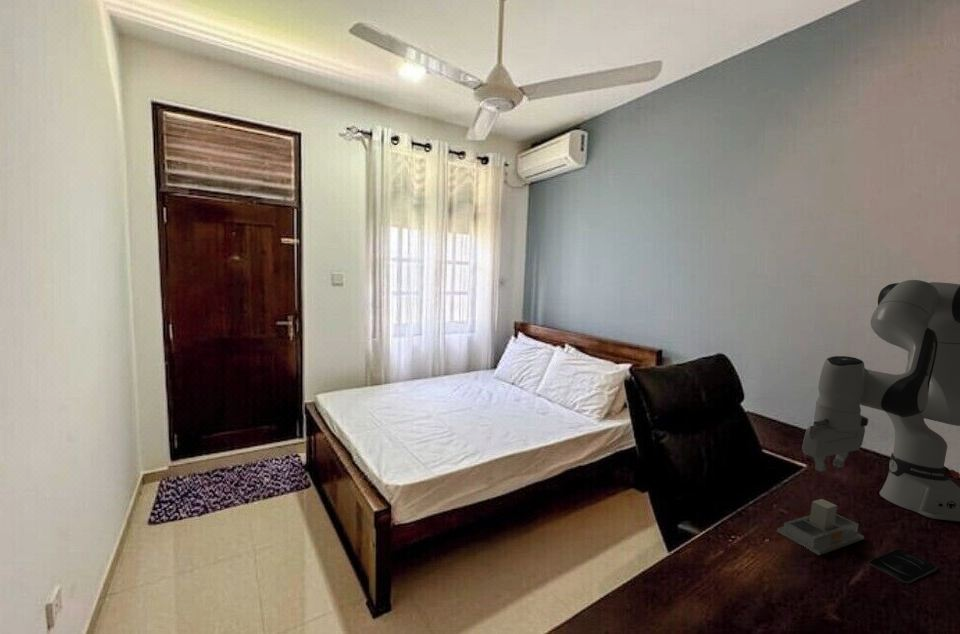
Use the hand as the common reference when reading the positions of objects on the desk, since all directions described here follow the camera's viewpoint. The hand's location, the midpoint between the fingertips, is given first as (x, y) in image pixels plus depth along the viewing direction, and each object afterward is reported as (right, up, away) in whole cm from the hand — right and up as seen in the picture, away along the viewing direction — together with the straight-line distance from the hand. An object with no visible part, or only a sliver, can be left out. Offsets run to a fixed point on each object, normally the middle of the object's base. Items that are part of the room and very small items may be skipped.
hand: (829, 468), depth 108 cm
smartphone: (+10, -21, -9) cm, 25 cm away
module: (-1, -18, +2) cm, 18 cm away
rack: (-1, -19, +2) cm, 19 cm away
